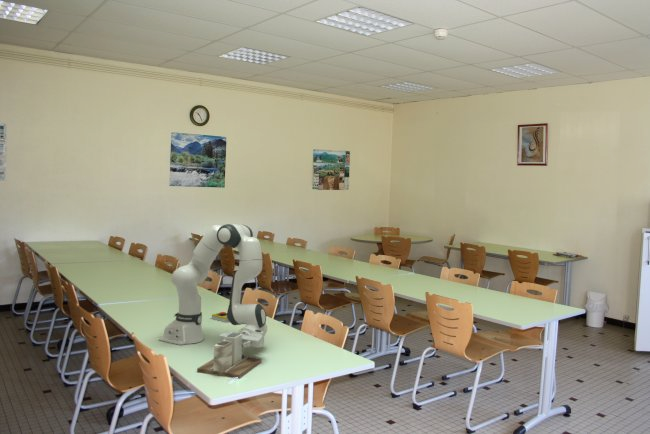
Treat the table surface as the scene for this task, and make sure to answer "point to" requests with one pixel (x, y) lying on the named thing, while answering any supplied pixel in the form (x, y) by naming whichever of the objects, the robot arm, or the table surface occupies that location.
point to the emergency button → (220, 317)
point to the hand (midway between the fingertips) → (233, 344)
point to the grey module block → (235, 346)
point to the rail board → (234, 371)
